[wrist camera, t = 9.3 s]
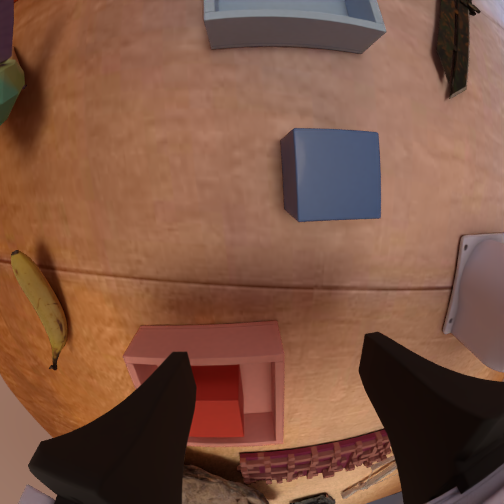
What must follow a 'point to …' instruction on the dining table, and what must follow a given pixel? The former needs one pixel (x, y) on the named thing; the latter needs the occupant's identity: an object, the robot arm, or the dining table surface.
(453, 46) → the knife
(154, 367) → the pink bin
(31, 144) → the dining table surface
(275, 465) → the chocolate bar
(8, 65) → the decorative sculpture
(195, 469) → the rock
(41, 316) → the banana
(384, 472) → the crossbow
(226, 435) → the red block
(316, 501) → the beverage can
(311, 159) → the blue block
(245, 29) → the blue bin
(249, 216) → the dining table surface
